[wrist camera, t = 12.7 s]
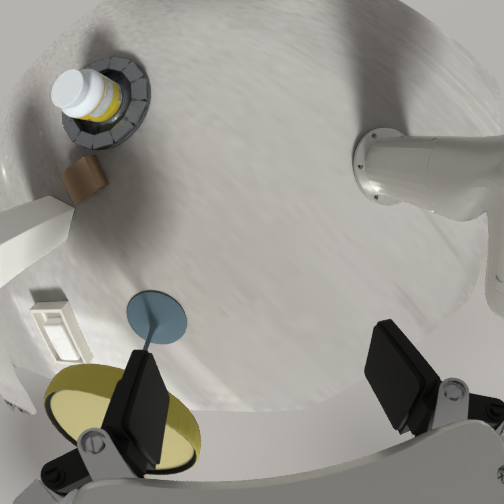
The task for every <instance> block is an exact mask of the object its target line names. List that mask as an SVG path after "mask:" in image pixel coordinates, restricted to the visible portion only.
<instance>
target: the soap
mask: <svg viewBox="0 0 504 504" xmlns="http://www.w3.org/2000/svg"><path fill="white" fill-rule="evenodd" d="M43 326H44V329H45V331H46V333H47V335H48V337H49V339H50V341H51V342H52V344H53V346H54V348H55V350H56V351H57V353H58V355H59V357H60V358H61V359H63V360H79V358H80V355H79V353H78V351H77V349H76V347H75V345H74V343H73V341H72V339H71V336H70V334H69V332H68V330H67V328H66V326H65V323H64V321H63V319H62V318H49V319H47V321H46V322H45V323H44V325H43Z"/></svg>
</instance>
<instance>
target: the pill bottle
mask: <svg viewBox="0 0 504 504" xmlns="http://www.w3.org/2000/svg"><path fill="white" fill-rule="evenodd" d="M51 98H52V102H53V103H54V105H56V106H57V107H60V108H61V110H62V111H63V112H64V113H65V114H66V115H67V116H69V117H73V118H78V119H83V120H89V121H94V122H105V121H108V120H110V119H112V118H113V117H114V116H115V115H116V114H117V113H118V112H119V111H120V109H121V107H122V105H123V101H124V93H123V90H122V88H121V87H120V85H119V84H117V83H116V82H114V81H112V80H111V79H109V78H107V77H106V76H104V75H102V74H101V73H99V72H97V71H95V70H93V69H82V70H77V69H70V70H67V71H65V72H64V73H62V74H61V75H60V76H59V77H58V78H57V80H56V81H55V83H54V85H53V88H52V92H51Z"/></svg>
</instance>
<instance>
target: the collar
mask: <svg viewBox="0 0 504 504" xmlns="http://www.w3.org/2000/svg"><path fill="white" fill-rule="evenodd" d="M85 69H93V70H95V71H97V72H99V73H101V74H102V75H104V76H106V77H107V78H109V79H111V80H112V81H114V82H116V83H117V84H119V85H120V87H121V88H122V90H123V93H124V101H123V105H122V107H121V109H120V111H119V112H118V113H117V114H116V115H115V116H114V117H113V118H112V119H110V120H108V121H105V122H94V121H89V120H83V119H78V118H73V117H69V116H67V115H66V114H65V113H64V112H63V111H62V124H63V125H65V126H64V127H63V128H64V129H65V131H66V132H67V134H68V135H69V137H70V138H71V140H72V142H75V144H78V145H81V146H84V147H86V148H89V149H95V150H102V149H108V148H112V147H115V146H117V145H119V144H121V143H122V142H124V141H125V140H127V139H128V138H129V137H130V136H131V135H132V134H133V133H134V132H135V131H136V130H137V129H138V128H139V126H140V125H141V123H142V122H143V120H144V118H145V116H146V114H147V111H148V108H149V105H150V99H151V87H150V82H149V79H148V77H147V75H146V73H145V72H144V70H143V69H142V68H141V67H140V66H138V65H137V64H136V63H134V62H133V61H131V60H128V59H124V58H119V57H114V56H112V58H111V57H107V58H104V59H101V60H99V61H96V62H93V63H91V66H89V65H88V66H87V67H86V68H85Z"/></svg>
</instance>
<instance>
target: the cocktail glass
mask: <svg viewBox="0 0 504 504" xmlns="http://www.w3.org/2000/svg"><path fill="white" fill-rule="evenodd" d="M127 318H128V322H129V324H130V326H131V328H132V329H133V330H134V332H135V333H136V334H137V335H139V336H140V337H141V338H143V339H145V340H146V342H145V345H144V348H143V350H148V347H149V344H150V342H151V343H155V344H170V343H173V342H175V341H177V340H178V339H180V338H181V337H182V336H183V334H184V333H185V331H186V327H187V318H186V315H185V312H184V310H183V309H182V307H181V306H180V305H179V304H178V303H177V302H176V301H175V300H174V299H172V298H171V297H169V296H167V295H165V294H162V293H158V292H144V293H141V294H139V295H137V296H135V297H134V298H133V299H132V300H131V301H130V303H129V305H128V308H127ZM124 371H125V370H123V369H120V368H116V367H112V366H107V365H100V364H77V365H71V366H69V367H67V368H64V369H62V370H61V371H60V372H59V373H58V374H57V375H55V377H54V378H53V379H52V381H51V383H50V384H49V386H48V388H47V390H46V393H45V397H44V407H45V411H46V414H47V416H48V418H49V419H50V421H51V422H52V424H53V425H54V427H55V428H56V429H57V430H58V431H59V432H60V433H61V434H62V435H63V436H64V437H65V438H66V439H67V440H68V441H69V442H71V443H72V444H73V445H75V446H76V447H77V440H78V438H79V435H80V434H81V433H82V432H83V431H85V430H86V429H89V428H101V425H102V422H103V419H104V417H105V414H106V411H107V408H108V405H109V403H110V400H111V397H112V395H113V392H114V389H115V387H116V384H117V382H118V380H120V379H122V376H123V374H124ZM168 393H169V392H168ZM169 397H170V403H169V409H168V414H167V420H166V427H165V433H164V440H163V446H162V453H161V460H160V464H159V465H157V464H156V470H148V469H146V474H150V475H169V474H176V473H180V472H184V471H186V470H188V469H190V468H191V467H192V466H193V465H195V463H196V462H197V460H198V458H199V453H200V448H201V435H200V430H199V426H198V424H197V422H196V420H195V418H194V416H193V415H192V413H191V412H190V411H189V409H188V408H187V407H186V406H185V405H184V404H183V403H182V402H181V401H180V400H179V399H177V398H176V397H175V396H173V395H172V394H171V393H169ZM77 448H78V447H77Z"/></svg>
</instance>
